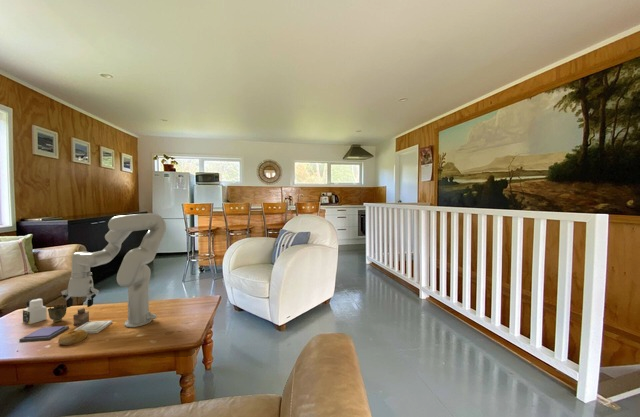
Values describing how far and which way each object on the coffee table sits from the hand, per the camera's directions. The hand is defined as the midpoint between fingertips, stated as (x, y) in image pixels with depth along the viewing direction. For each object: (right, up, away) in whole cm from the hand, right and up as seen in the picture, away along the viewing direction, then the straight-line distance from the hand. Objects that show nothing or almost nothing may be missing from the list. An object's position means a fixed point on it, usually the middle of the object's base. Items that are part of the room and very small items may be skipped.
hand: (79, 306), depth 144 cm
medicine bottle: (-27, -9, +3) cm, 29 cm away
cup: (-14, -9, +2) cm, 17 cm away
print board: (+12, -9, -6) cm, 16 cm away
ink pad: (-5, -9, -13) cm, 17 cm away
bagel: (+13, -10, -18) cm, 24 cm away
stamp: (+1, -9, 0) cm, 9 cm away
